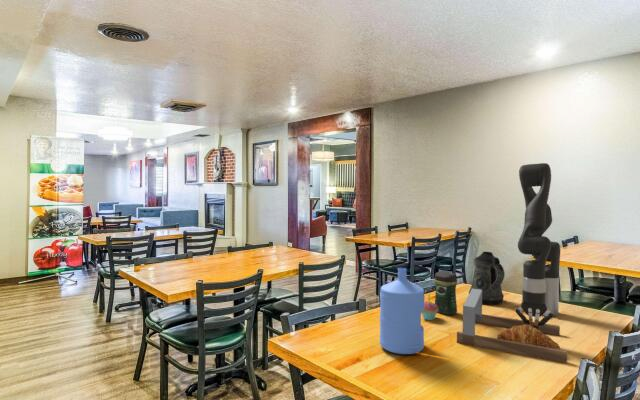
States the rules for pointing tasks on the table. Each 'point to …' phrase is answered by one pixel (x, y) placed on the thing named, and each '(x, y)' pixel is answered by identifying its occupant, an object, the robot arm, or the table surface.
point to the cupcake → (429, 309)
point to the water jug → (401, 316)
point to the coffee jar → (446, 293)
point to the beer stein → (488, 278)
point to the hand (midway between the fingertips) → (533, 335)
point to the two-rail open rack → (474, 314)
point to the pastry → (528, 336)
